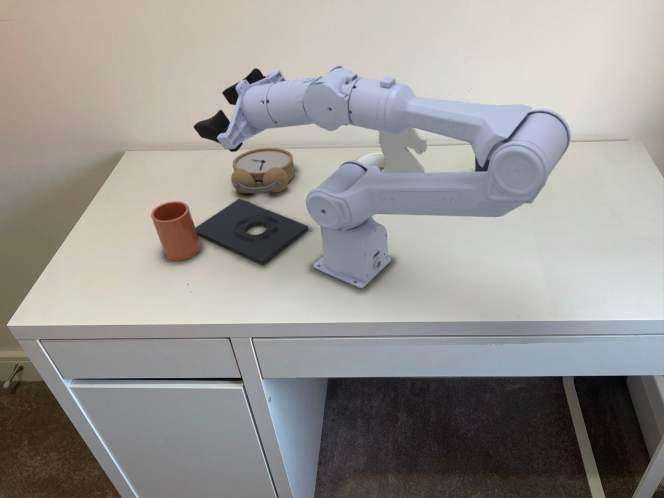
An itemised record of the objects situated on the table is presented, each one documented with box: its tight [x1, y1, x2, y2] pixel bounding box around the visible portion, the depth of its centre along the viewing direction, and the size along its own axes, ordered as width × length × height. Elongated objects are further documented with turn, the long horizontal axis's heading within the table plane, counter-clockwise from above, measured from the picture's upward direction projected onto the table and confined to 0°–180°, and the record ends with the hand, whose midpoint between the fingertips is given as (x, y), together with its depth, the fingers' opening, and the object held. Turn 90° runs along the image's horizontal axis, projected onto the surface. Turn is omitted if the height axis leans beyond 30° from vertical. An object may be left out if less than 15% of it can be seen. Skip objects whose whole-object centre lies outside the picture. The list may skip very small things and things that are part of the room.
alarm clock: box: [230, 147, 296, 195], centre depth 107 cm, size 11×5×15 cm
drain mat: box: [195, 198, 309, 266], centre depth 96 cm, size 16×11×1 cm
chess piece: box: [378, 127, 428, 173], centre depth 99 cm, size 10×10×15 cm
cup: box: [150, 200, 202, 262], centre depth 91 cm, size 6×6×8 cm
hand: (213, 113), depth 83 cm, fingers open, 7 cm apart
